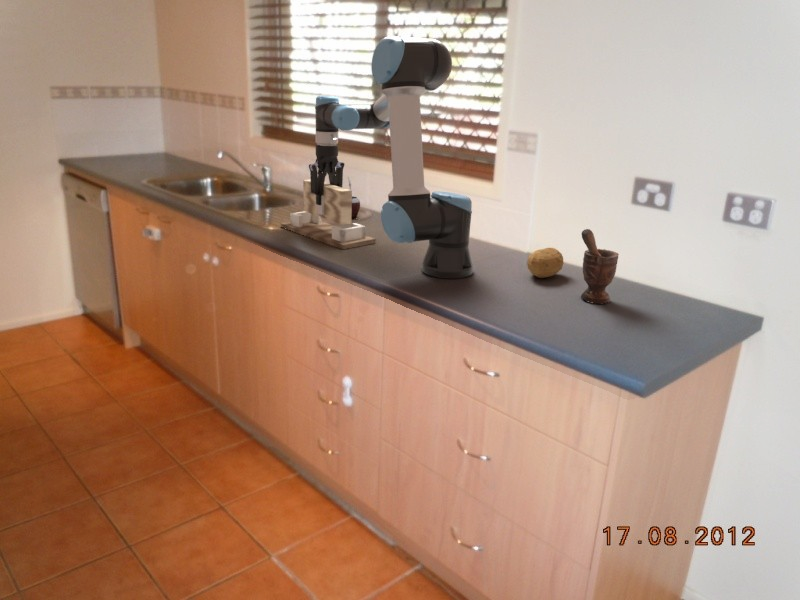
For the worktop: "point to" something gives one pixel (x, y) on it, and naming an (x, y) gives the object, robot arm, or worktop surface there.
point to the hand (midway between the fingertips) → (326, 213)
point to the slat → (329, 202)
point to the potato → (545, 262)
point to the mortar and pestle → (597, 269)
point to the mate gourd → (354, 204)
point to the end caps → (337, 233)
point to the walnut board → (326, 234)
